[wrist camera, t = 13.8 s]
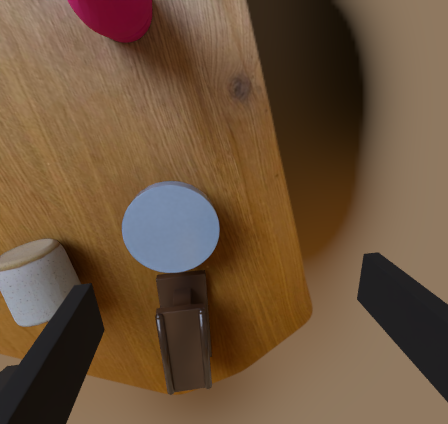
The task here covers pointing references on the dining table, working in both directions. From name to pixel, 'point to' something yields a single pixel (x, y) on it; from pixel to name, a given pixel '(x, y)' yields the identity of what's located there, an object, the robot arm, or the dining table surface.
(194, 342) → the plate rack
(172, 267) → the side plate
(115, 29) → the pepper mill
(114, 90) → the dining table surface
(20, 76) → the dining table surface
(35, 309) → the ceramic mug
